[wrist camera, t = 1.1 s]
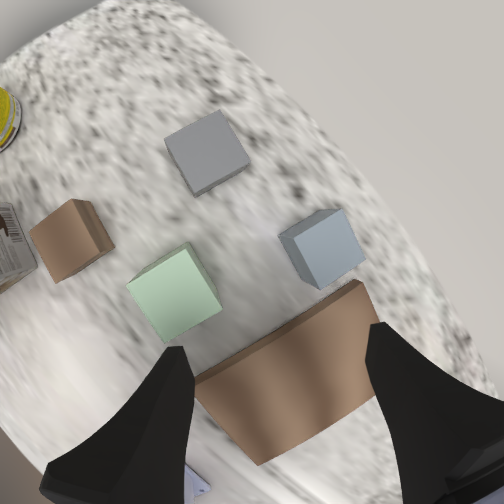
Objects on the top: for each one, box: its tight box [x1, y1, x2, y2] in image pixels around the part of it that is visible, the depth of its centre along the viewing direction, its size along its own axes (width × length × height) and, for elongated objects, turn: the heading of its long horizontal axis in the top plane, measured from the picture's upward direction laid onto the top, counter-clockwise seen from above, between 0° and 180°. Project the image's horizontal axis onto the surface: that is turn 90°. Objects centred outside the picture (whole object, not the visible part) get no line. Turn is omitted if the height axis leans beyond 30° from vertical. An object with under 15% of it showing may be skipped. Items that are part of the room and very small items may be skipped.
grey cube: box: [164, 110, 251, 198], centre depth 20 cm, size 4×4×4 cm
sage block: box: [126, 242, 223, 344], centre depth 20 cm, size 4×4×6 cm
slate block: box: [278, 209, 366, 290], centre depth 22 cm, size 4×4×4 cm
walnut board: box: [194, 279, 380, 466], centre depth 25 cm, size 16×11×2 cm
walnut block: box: [29, 199, 115, 284], centre depth 19 cm, size 4×4×4 cm
